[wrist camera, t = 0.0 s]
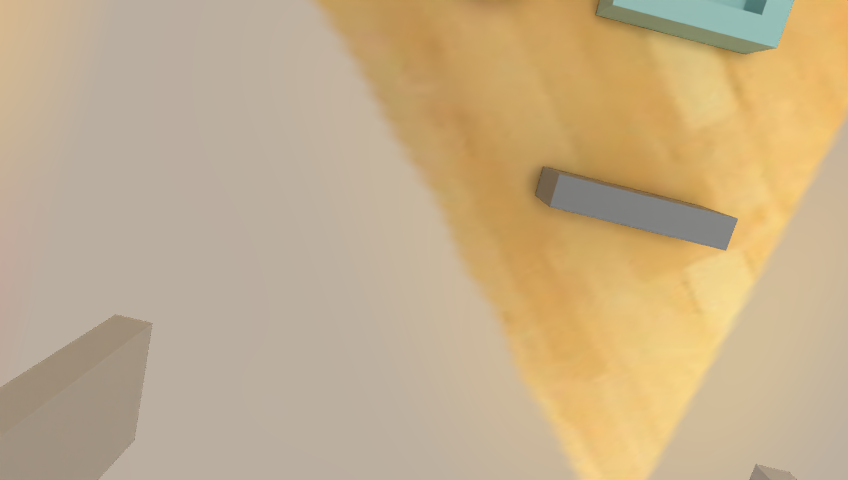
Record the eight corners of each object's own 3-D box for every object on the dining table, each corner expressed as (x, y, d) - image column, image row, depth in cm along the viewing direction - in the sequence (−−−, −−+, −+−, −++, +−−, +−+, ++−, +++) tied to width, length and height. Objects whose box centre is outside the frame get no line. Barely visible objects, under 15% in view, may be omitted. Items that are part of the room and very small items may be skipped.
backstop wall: (543, 166, 39) (559, 173, 34) (699, 205, 39) (737, 218, 34) (535, 195, 39) (550, 206, 34) (689, 233, 40) (726, 250, 35)
